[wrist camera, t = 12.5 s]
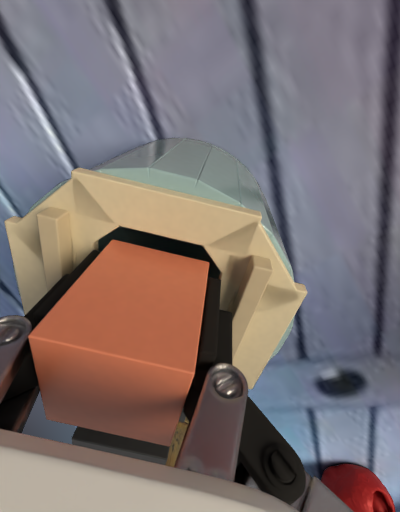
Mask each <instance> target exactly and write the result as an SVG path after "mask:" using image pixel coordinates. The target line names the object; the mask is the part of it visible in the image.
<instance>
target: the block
mask: <svg viewBox="0 0 400 512" xmlns="http://www.w3.org/2000/svg"><path fill="white" fill-rule="evenodd" d="M208 271H209V262H206V261H202V260H198V259H193V258H189V257H185V256H181V255H177V254H172V253H168V252H164V251H160V250H156V249H152V248H147V247H143V246H139V245H135V244H131V243H126V242H122V241H118V240H114V239H113V240H111V241H110V243H109V244H108V245H107V246H106V247H105V248H104V249H103V251H102V252H101V253H100V254H99V255H98V256H97V257H96V259H95V260H94V261H93V262H92V263H91V264H90V265H89V267H88V268H87V269H86V270H85V271H84V272H83V273H82V275H81V276H80V277H79V278H78V279H77V280H76V281H75V283H74V284H73V285H72V286H71V287H70V288H69V289H68V291H67V292H66V293H65V294H64V295H63V296H62V297H61V299H60V300H59V301H58V302H57V303H56V304H55V305H54V307H53V308H52V309H51V310H50V311H49V312H48V313H47V315H46V316H45V317H44V318H43V319H42V320H41V321H40V323H39V324H38V325H37V326H36V327H35V328H34V329H33V331H32V332H31V333H30V334H29V336H28V339H29V343H30V348H31V352H32V357H33V361H34V366H35V370H36V374H37V379H38V383H39V388H40V392H41V397H42V401H43V406H44V410H45V415H46V418H47V419H48V420H51V421H56V422H60V423H65V424H69V425H74V426H78V427H83V428H88V429H92V430H97V431H101V432H106V433H110V434H115V435H119V436H124V437H128V438H133V439H137V440H142V441H146V442H151V443H155V444H160V445H164V446H170V445H171V442H172V439H173V436H174V433H175V430H176V427H177V424H178V421H179V418H180V416H181V413H182V410H183V407H184V404H185V401H186V398H187V395H188V392H189V389H190V386H191V383H192V380H193V377H194V374H195V368H196V360H197V353H198V345H199V338H200V330H201V323H202V316H203V308H204V301H205V293H206V286H207V278H208Z"/></svg>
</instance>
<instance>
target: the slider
mask: <svg viewBox="0 0 400 512" xmlns="http://www.w3.org/2000/svg"><path fill="white" fill-rule="evenodd" d="M183 410H184V408H183ZM183 410H182V413H181V416H180V418H179V422H184V421H185V419H186V416H185V414H184V413H183ZM72 445H76V446H81V447H85V448H90V449H94V450H99V451H103V452H108V453H112V454H117V455H121V456H126V457H130V458H134V459H139V460H143V461H148V462H152V463H157V464H161V465H166V462H167V459H168V454H169V448H170V446H164V445H160V444H155V443H151V442H146V441H142V440H137V439H133V438H128V437H124V436H119V435H115V434H110V433H106V432H101V431H97V430H92V429H88V428H83V427H78V426H77V428H76V430H75V432H74V435H73V437H72Z"/></svg>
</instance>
